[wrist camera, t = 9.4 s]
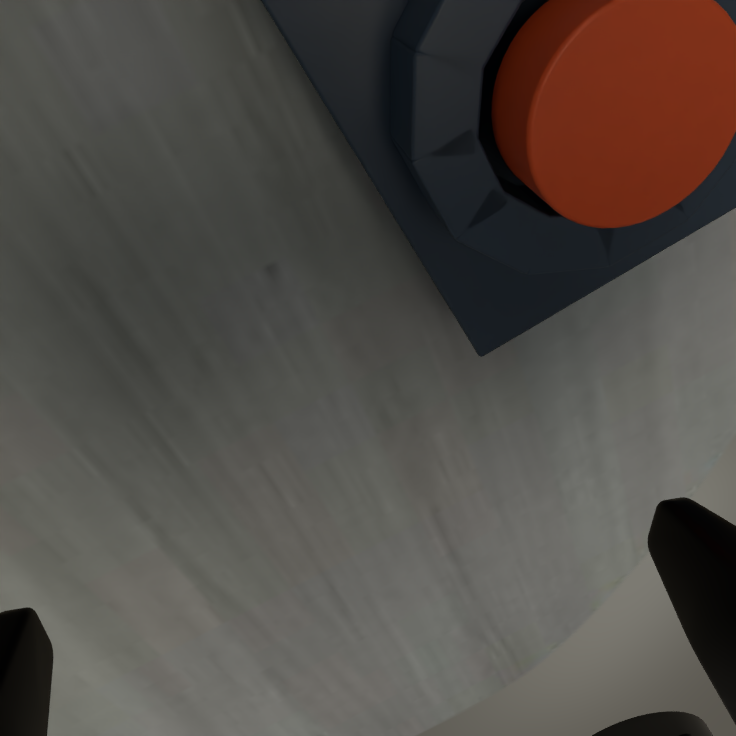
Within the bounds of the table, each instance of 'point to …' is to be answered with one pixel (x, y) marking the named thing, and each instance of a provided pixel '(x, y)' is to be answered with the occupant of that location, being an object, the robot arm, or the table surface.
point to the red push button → (617, 105)
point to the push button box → (467, 157)
